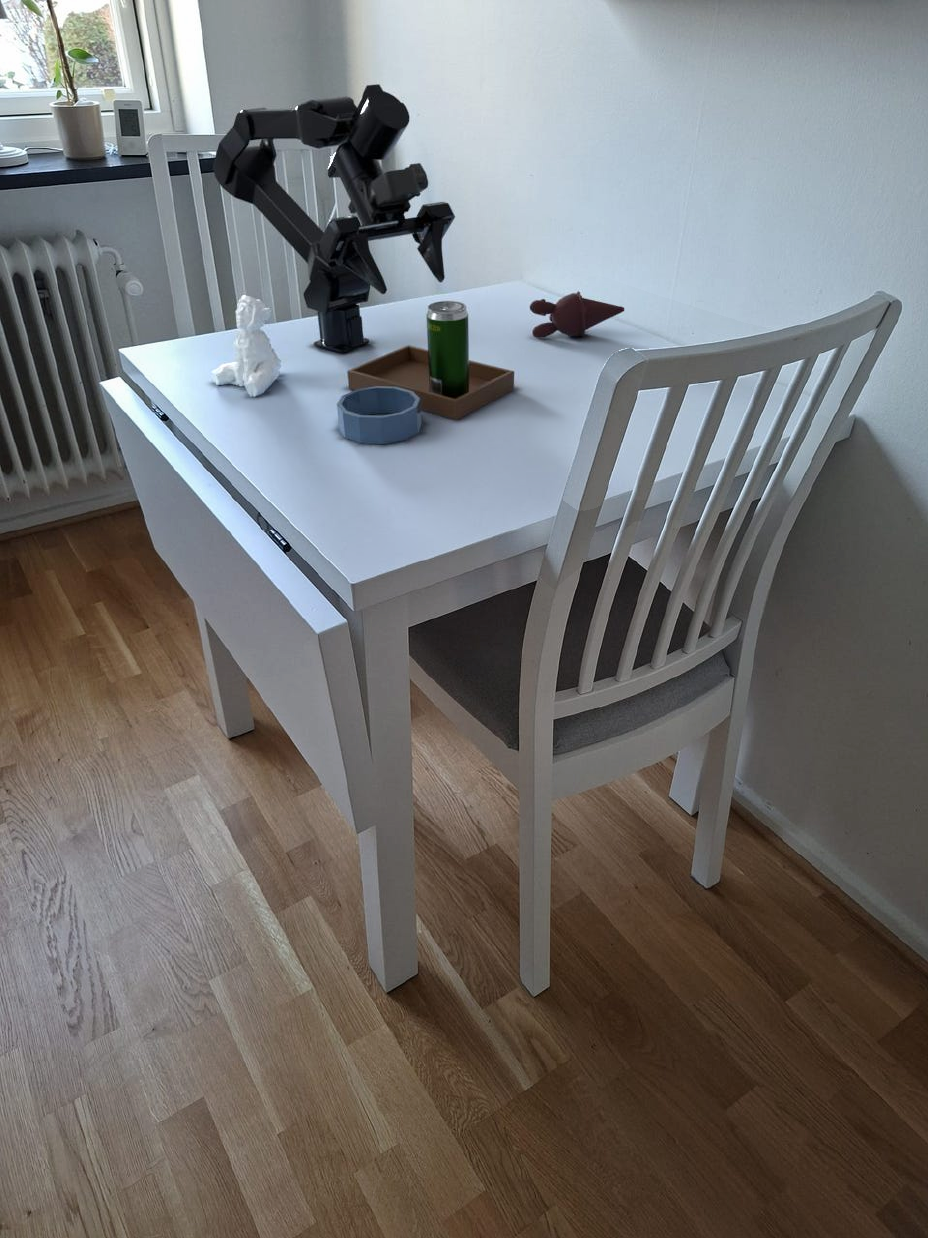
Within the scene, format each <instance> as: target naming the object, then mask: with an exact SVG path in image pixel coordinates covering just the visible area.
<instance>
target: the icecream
mask: <svg viewBox="0 0 928 1238" xmlns="http://www.w3.org/2000/svg"><path fill="white" fill-rule="evenodd" d="M529 310H530V311H531V312H532V314H535V315H537V316H543V317H546V316H547V315H549V321H548V322H543V323H540V324H538V325H536V326H534V328H532V331H531V333H532V336H533V337H534V338H537V339H541V338H547V337H549V336H551V335H553V334H555V333H556V332H557V331H558V332H559V333H560V334H563V335H566V336H568V337H574V338H575V337H576V338H577V337H583V338H584V336H585V333H586V330H589V329H590V328H593V327H594V326H596V325H599V324H601V323H603V322H605V321H607V320H609V319H611V318H613V317H616V316H617V315H619V314H621V313H623V312H625V307H624V306H620V305H615V304H611V303H606V302H603V301H599V300H594V299H589V298H585V297H583V295H581V292H580V291H579V290H578V291H577V292H571V293H569V294H567V295H564V296H563V297H561V298H560V299H558V300H557V302H556V303H553V302H550V301H546V299H545V298H542V299H535V300H533V301H532V302H531V303H530V304H529Z"/></svg>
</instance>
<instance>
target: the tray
mask: <svg viewBox="0 0 928 1238" xmlns="http://www.w3.org/2000/svg"><path fill="white" fill-rule="evenodd" d="M346 373H347V382H348V383H347V384H348V389H350V390H352V391H354V390H357V389H362V388H368V387H374V386H387V387H399V388H403V389H406V390H410V391H413V392H414V393H415V394H416V395H417V396H418V397H419V398H420V403H421V411H424V412H428V413H431V414H434V415H437V416H441V417H445V418H448V419H451V420H455V421H457V420H459V419H461V418H463V417H465V416H467V415H469V414H470V413H473V412H475V411H476V410H479V409H480V408H482V407H484V406H485V405H487V404H489V403H491V402H493V401H495V400H497V399H499V398H500V397H502V396H504V395H506V394H508V393H510V392H512V391H513V390H514V389H515V371H514V370H510V369H506V368H502V367H499V366H494V365H490V364H486V363H482V362H478V361H474V360H470V359H469V392H468V393H466V394H464V395H462V396H460V397H458V398H456V399H454V398H450V397H446V396H443V395H439V394H436V393H432V392H430V391H429V366H428V349H425V348H421V347H417V346H414V345H410V344H408V345H406V346H403V347H400V348H397V349H395V350H393V351H391V352H388V353H386V354H384V355H381V356H378V357H377V358H374V359H372V360H370V361H367V362H365V363H362V364H360V365H357V366H355V367H354V368H351V369H348V370H347V371H346Z"/></svg>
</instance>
